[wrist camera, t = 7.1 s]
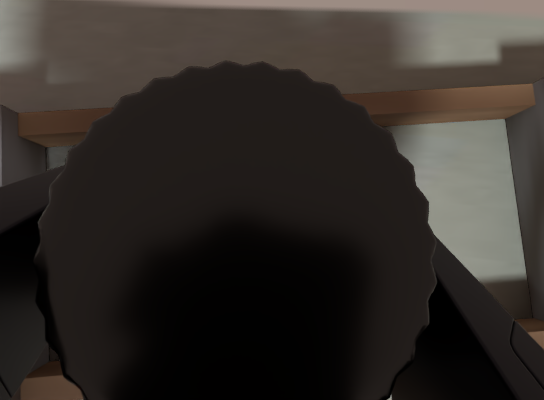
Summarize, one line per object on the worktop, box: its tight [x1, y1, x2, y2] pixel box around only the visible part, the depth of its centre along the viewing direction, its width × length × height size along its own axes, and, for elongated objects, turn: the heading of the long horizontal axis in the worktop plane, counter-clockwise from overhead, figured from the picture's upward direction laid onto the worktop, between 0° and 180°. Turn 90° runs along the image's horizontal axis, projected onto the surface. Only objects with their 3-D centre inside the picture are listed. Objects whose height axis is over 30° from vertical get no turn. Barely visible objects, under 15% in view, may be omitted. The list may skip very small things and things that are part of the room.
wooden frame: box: [0, 78, 544, 400], centre depth 16 cm, size 12×31×4 cm, turn 94°
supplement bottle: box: [33, 61, 437, 400], centre depth 10 cm, size 7×7×12 cm
